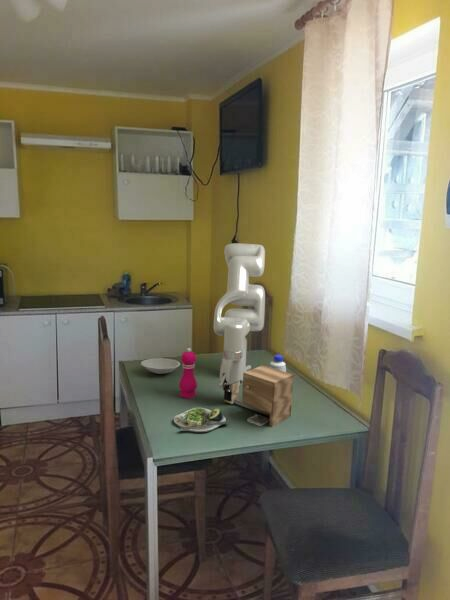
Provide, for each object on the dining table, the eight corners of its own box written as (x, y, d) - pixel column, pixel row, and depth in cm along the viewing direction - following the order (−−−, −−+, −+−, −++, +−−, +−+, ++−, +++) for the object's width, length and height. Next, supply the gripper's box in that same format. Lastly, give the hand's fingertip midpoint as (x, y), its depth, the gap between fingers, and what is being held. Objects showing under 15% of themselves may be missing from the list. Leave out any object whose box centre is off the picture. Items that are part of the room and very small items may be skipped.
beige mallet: (230, 398, 200) (231, 379, 199) (278, 415, 186) (280, 395, 184) (224, 401, 197) (224, 381, 196) (272, 419, 183) (273, 398, 181)
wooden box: (260, 405, 196) (262, 365, 193) (290, 416, 187) (293, 374, 184) (239, 415, 186) (241, 373, 183) (269, 427, 177) (272, 383, 174)
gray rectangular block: (256, 417, 186) (256, 413, 186) (270, 422, 183) (270, 418, 182) (246, 422, 182) (247, 418, 181) (260, 428, 178) (260, 424, 178)
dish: (181, 369, 234) (181, 359, 233) (177, 380, 219) (178, 369, 218) (144, 367, 234) (144, 357, 233) (137, 378, 220) (137, 367, 219)
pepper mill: (194, 399, 199) (195, 351, 195) (176, 397, 200) (177, 349, 196) (198, 393, 206) (200, 346, 202) (181, 391, 207) (182, 344, 203)
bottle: (285, 401, 201) (288, 353, 197) (281, 407, 194) (285, 358, 190) (269, 398, 203) (272, 351, 199) (265, 405, 197) (267, 356, 193)
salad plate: (197, 442, 165) (197, 429, 164) (160, 425, 177) (161, 413, 176) (234, 424, 180) (235, 412, 179) (199, 409, 191) (199, 398, 190)
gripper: (239, 347, 203) (237, 390, 206) (211, 356, 190) (210, 401, 194) (253, 351, 198) (251, 395, 201) (226, 361, 185) (225, 407, 189)
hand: (231, 398), depth 197 cm, fingers closed on beige mallet, 4 cm apart
